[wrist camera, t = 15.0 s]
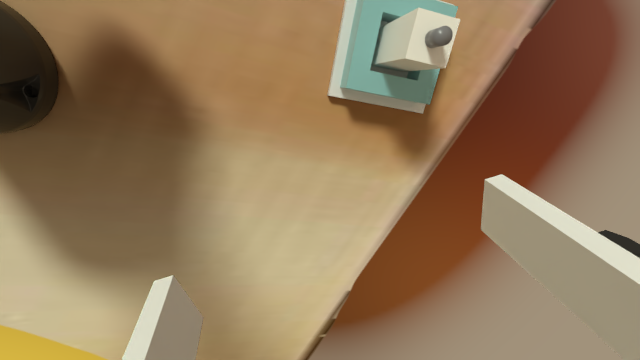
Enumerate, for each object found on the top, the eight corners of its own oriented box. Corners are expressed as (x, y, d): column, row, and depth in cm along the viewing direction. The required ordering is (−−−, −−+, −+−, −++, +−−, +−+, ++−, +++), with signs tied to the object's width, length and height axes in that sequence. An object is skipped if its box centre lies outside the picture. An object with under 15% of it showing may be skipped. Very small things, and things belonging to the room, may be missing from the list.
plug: (400, 71, 39) (457, 67, 27) (369, 64, 38) (414, 56, 26) (409, 36, 37) (474, 14, 25) (378, 28, 37) (429, 1, 24)
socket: (419, 112, 42) (435, 116, 38) (327, 95, 39) (333, 96, 35) (449, 6, 38) (471, -3, 34) (349, -22, 35) (359, -36, 31)
